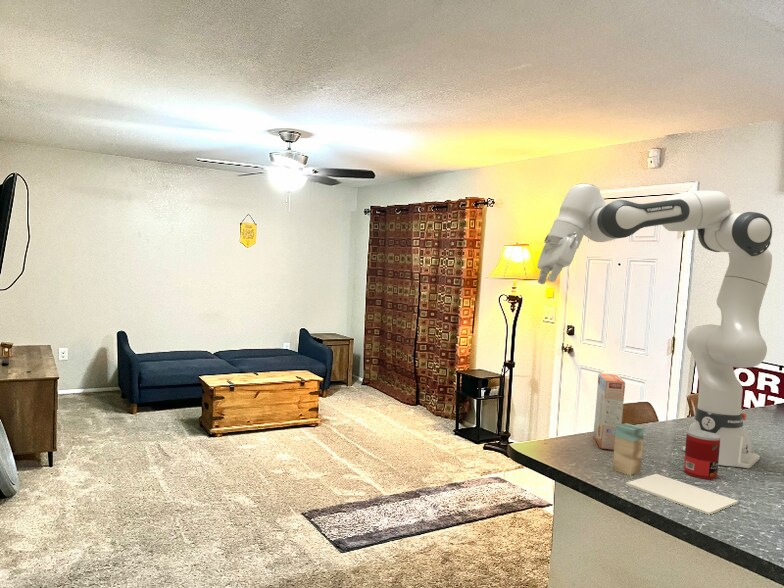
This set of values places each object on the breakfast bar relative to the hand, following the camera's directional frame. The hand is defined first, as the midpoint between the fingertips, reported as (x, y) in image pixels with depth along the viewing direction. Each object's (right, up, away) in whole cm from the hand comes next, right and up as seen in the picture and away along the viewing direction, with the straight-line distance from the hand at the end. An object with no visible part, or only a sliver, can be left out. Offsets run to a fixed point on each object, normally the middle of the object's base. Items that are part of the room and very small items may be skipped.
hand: (545, 282), depth 162 cm
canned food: (+40, -52, -6) cm, 65 cm away
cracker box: (+23, -50, +18) cm, 58 cm away
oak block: (+19, -50, -8) cm, 54 cm away
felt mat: (+26, -51, -22) cm, 62 cm away
